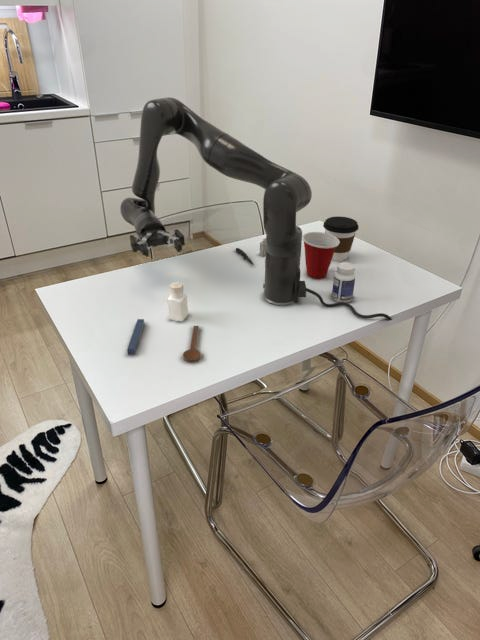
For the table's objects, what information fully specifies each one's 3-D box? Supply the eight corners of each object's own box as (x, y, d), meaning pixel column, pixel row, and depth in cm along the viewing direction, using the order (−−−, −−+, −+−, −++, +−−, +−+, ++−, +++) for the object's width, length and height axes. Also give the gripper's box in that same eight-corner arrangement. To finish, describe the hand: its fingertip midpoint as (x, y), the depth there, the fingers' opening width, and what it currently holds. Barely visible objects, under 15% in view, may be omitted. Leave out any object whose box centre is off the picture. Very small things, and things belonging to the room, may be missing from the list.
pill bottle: (354, 295, 137) (359, 263, 132) (349, 305, 132) (354, 272, 127) (334, 291, 139) (338, 259, 134) (328, 300, 134) (332, 267, 129)
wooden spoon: (204, 328, 122) (204, 325, 122) (200, 362, 110) (199, 359, 110) (188, 328, 122) (188, 325, 122) (182, 362, 110) (182, 359, 110)
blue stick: (144, 324, 123) (144, 319, 123) (134, 354, 112) (134, 349, 112) (138, 324, 123) (137, 319, 123) (127, 354, 112) (127, 349, 112)
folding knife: (254, 267, 152) (254, 261, 151) (251, 267, 152) (251, 261, 151) (237, 251, 162) (237, 245, 161) (234, 251, 162) (234, 246, 161)
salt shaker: (168, 319, 125) (165, 287, 120) (175, 312, 129) (172, 280, 124) (182, 322, 124) (180, 289, 119) (189, 315, 127) (187, 282, 122)
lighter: (262, 256, 159) (263, 233, 154) (259, 254, 160) (259, 231, 155) (278, 250, 163) (279, 227, 158) (274, 248, 164) (275, 226, 159)
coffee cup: (357, 264, 154) (362, 228, 148) (322, 264, 154) (326, 228, 148) (350, 250, 163) (355, 216, 157) (318, 250, 163) (321, 215, 157)
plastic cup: (334, 285, 142) (339, 247, 136) (297, 281, 144) (300, 243, 138) (336, 269, 151) (340, 232, 145) (301, 265, 153) (304, 229, 147)
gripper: (123, 219, 136) (134, 241, 124) (173, 213, 141) (189, 234, 128) (126, 244, 140) (137, 268, 128) (174, 237, 145) (190, 260, 132)
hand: (163, 251), depth 128 cm, fingers open, 8 cm apart
